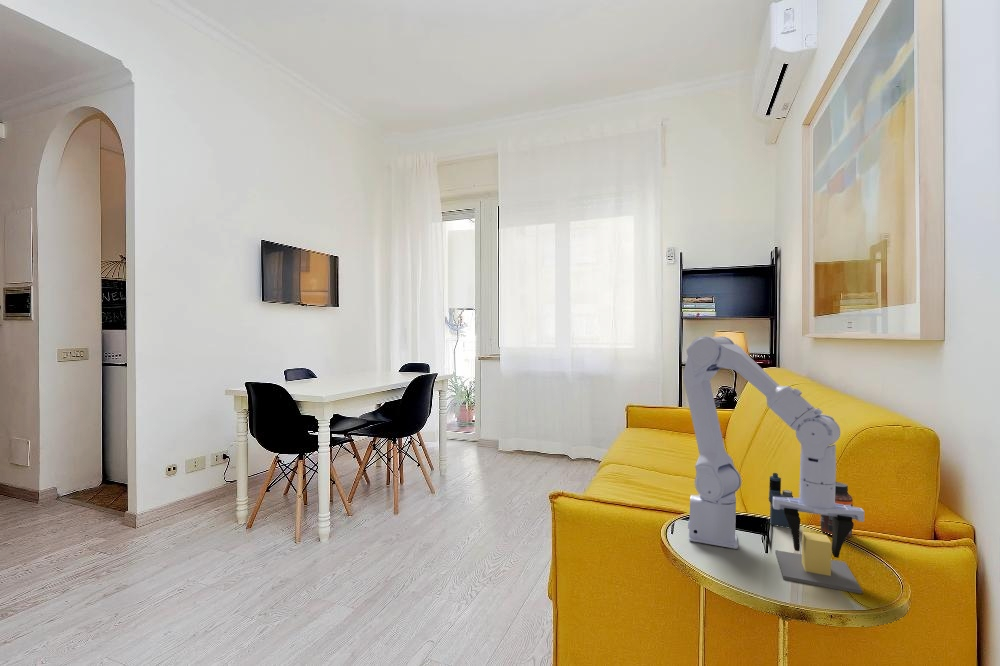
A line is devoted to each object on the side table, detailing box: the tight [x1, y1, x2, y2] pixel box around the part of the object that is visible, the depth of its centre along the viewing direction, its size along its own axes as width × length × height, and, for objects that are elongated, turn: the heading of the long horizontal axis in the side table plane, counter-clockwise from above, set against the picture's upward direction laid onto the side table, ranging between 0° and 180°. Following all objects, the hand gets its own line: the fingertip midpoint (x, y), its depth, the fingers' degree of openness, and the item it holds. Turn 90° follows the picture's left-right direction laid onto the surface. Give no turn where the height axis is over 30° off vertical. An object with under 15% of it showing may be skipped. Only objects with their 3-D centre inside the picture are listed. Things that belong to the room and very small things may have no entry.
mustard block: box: [801, 531, 832, 576], centre depth 94 cm, size 4×4×6 cm
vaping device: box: [768, 472, 794, 528], centre depth 117 cm, size 3×5×12 cm, turn 67°
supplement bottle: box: [820, 481, 854, 539], centre depth 113 cm, size 6×6×11 cm
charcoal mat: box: [774, 549, 863, 595], centre depth 94 cm, size 12×12×1 cm
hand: (815, 552), depth 94 cm, fingers open, 6 cm apart
